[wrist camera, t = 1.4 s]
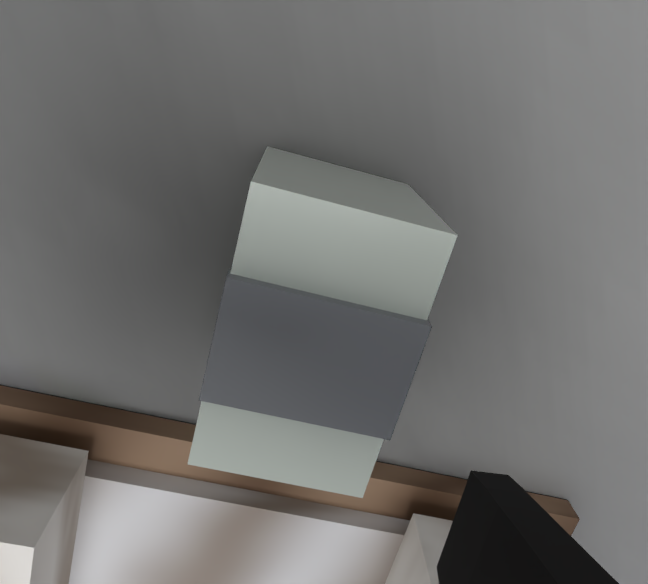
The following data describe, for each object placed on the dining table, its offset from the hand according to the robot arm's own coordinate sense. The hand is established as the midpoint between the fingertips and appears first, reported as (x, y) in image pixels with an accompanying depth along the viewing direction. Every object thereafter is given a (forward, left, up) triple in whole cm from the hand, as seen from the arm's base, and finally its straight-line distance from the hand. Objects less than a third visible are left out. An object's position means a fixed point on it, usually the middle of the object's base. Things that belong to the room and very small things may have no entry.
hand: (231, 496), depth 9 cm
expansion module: (-1, 0, -11) cm, 11 cm away
